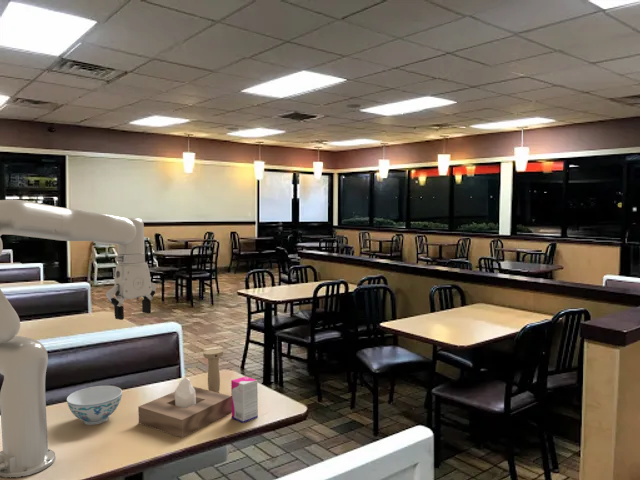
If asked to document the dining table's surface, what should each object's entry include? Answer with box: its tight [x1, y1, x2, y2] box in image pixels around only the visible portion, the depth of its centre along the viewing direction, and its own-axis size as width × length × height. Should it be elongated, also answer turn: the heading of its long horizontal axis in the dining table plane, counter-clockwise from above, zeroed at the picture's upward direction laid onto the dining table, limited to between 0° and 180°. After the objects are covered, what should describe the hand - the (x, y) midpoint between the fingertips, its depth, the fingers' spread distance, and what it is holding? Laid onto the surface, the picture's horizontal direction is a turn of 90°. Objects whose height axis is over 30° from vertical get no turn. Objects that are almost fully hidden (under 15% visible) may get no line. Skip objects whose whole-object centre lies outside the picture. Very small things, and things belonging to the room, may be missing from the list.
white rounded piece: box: [174, 377, 196, 409], centre depth 151 cm, size 6×12×6 cm
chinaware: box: [66, 385, 123, 426], centre depth 150 cm, size 15×15×8 cm
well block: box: [137, 385, 232, 439], centre depth 151 cm, size 20×18×5 cm
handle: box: [202, 348, 224, 393], centre depth 168 cm, size 5×6×15 cm
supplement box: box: [230, 375, 259, 424], centre depth 150 cm, size 6×6×12 cm
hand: (133, 315), depth 152 cm, fingers open, 9 cm apart
